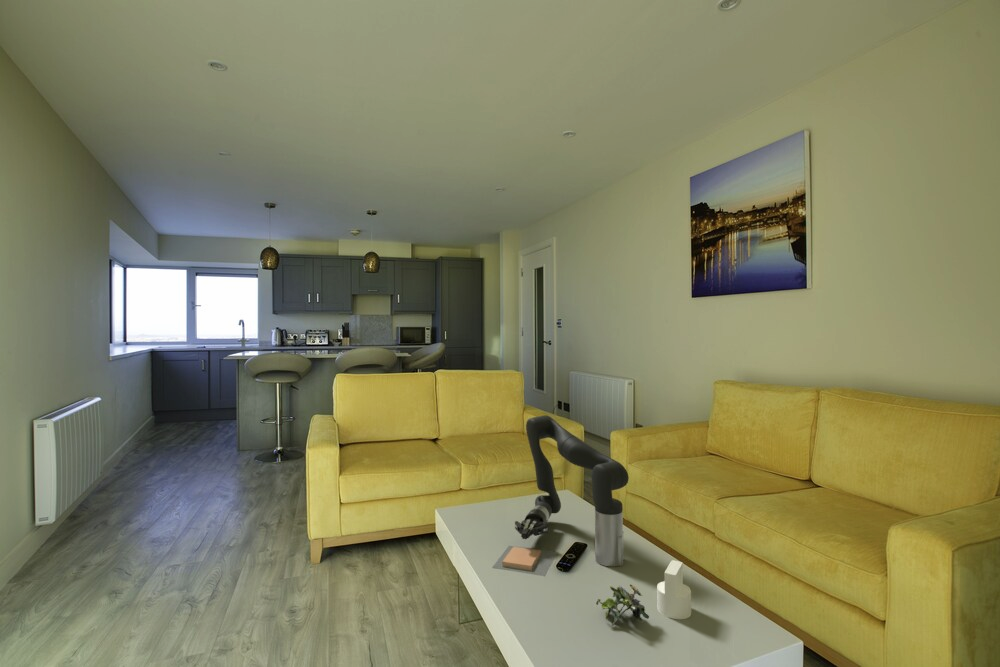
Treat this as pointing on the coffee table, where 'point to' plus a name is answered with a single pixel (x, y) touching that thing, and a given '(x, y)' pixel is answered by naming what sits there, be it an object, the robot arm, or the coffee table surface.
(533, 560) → the tile
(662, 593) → the cylinder with rectangular tab
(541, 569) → the mat
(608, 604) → the passion flower
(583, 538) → the coffee table surface
